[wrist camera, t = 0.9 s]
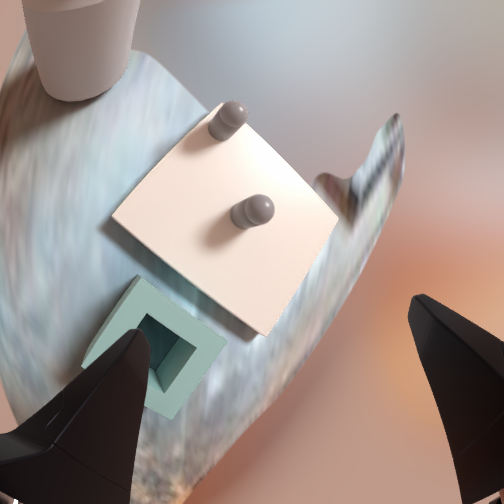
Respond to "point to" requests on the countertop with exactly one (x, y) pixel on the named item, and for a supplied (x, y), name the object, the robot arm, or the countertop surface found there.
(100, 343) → the block with square hole
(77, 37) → the can
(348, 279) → the countertop surface
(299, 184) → the base plate
